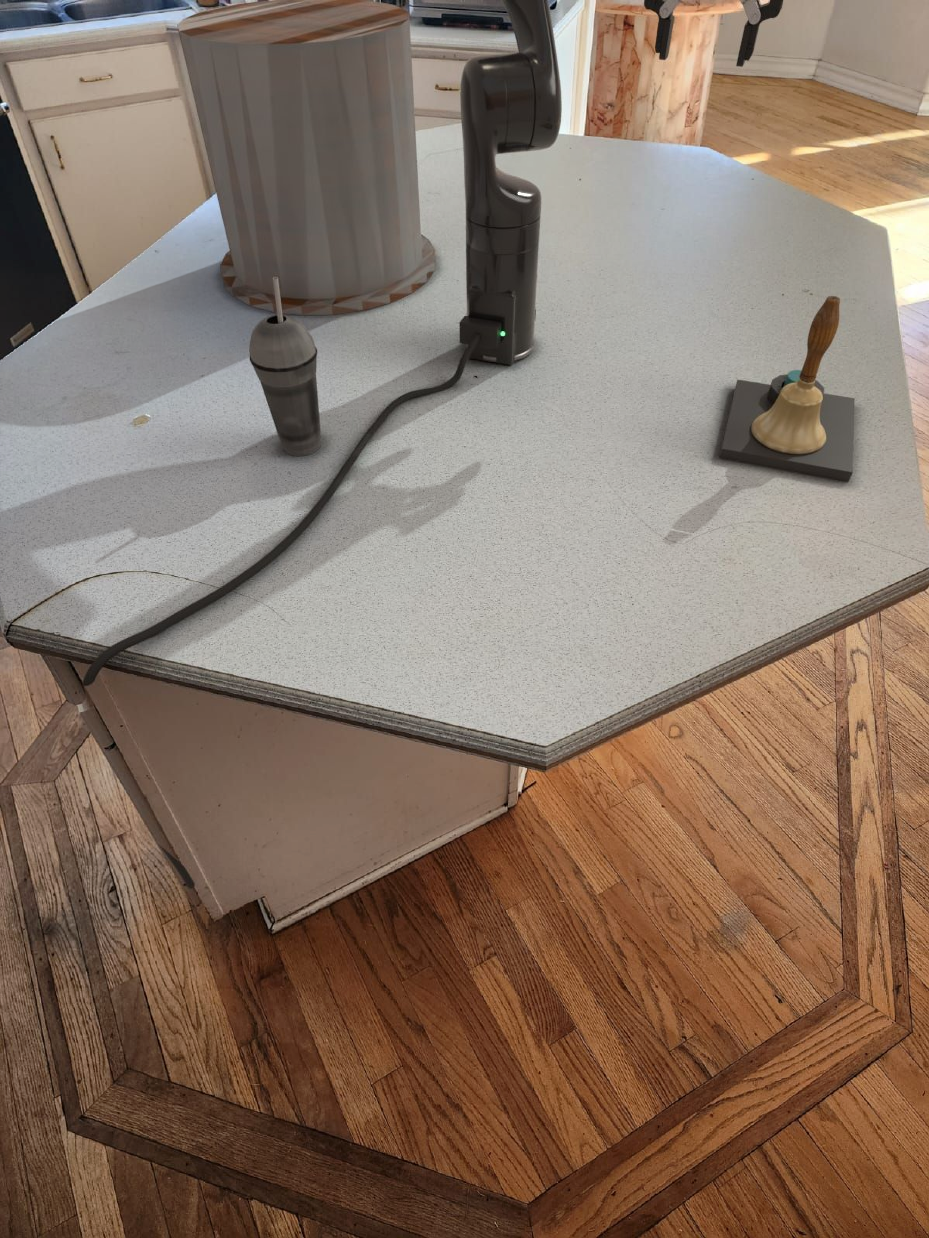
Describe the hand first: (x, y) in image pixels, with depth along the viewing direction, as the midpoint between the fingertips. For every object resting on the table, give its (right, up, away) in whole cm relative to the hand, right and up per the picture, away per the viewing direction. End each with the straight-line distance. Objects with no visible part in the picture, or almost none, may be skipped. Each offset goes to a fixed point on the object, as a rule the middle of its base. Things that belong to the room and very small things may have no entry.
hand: (701, 62), depth 85 cm
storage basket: (-49, -4, +40) cm, 63 cm away
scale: (+12, -40, +6) cm, 42 cm away
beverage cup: (-46, -42, +5) cm, 62 cm away
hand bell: (+11, -41, +3) cm, 43 cm away
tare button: (+14, -35, +7) cm, 38 cm away
